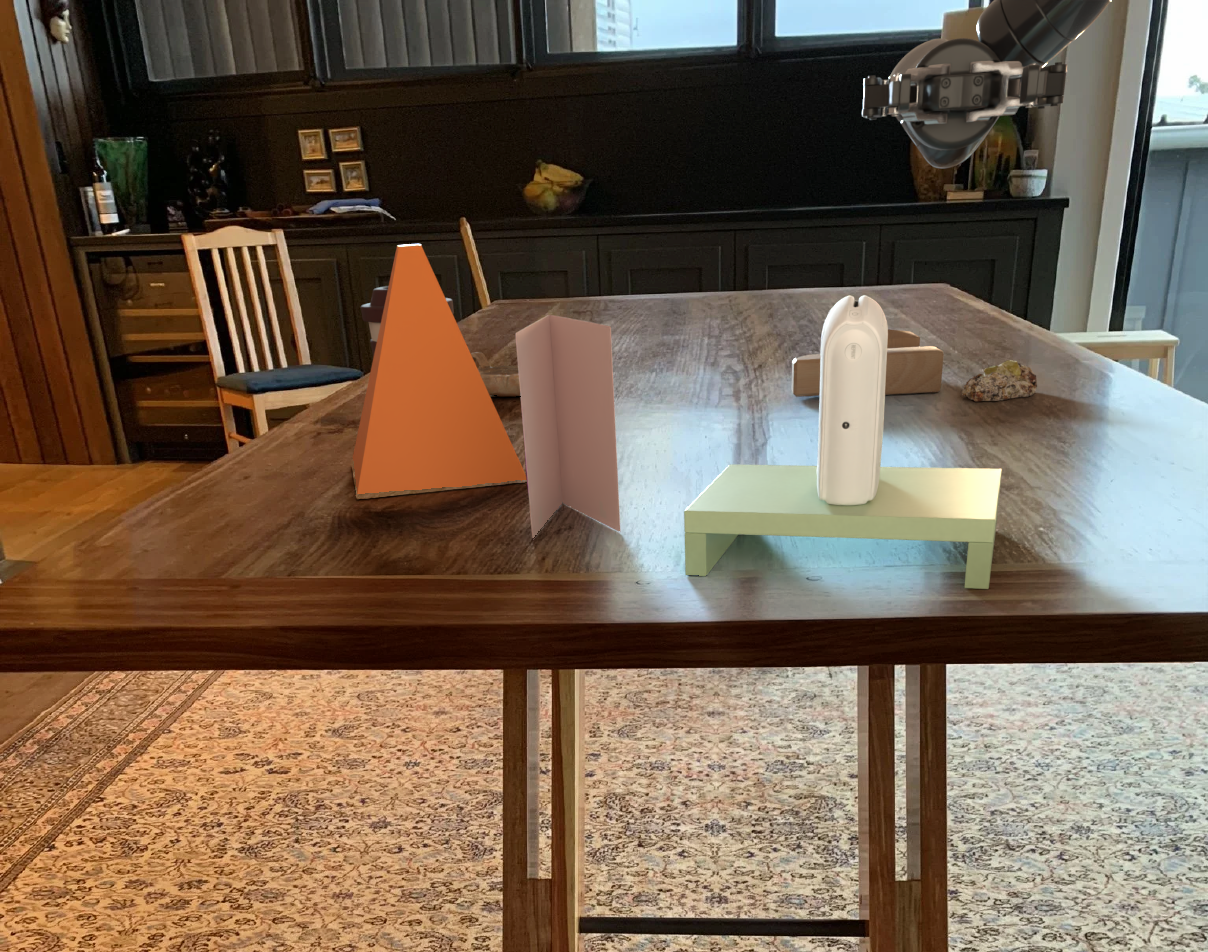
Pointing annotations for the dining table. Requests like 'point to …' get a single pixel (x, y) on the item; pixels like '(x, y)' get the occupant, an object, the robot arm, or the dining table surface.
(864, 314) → the photo printer
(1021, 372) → the mineral rock
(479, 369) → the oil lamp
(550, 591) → the dining table surface
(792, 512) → the shelf
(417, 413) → the pyramid
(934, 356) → the wooden block set
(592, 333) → the greeting card
